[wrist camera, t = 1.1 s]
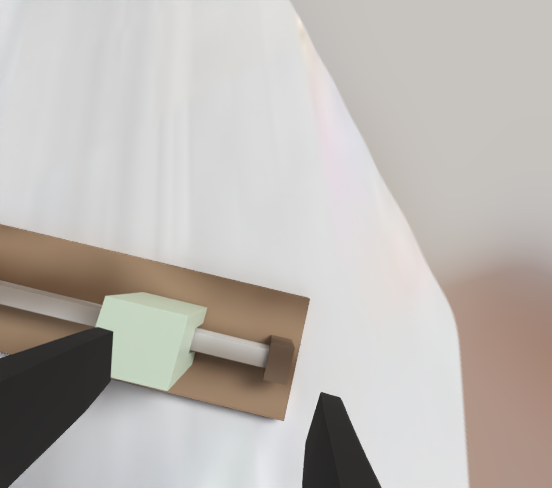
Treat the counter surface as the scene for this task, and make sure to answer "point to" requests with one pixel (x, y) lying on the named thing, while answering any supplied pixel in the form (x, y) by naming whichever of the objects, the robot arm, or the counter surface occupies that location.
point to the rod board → (167, 283)
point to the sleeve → (150, 337)
